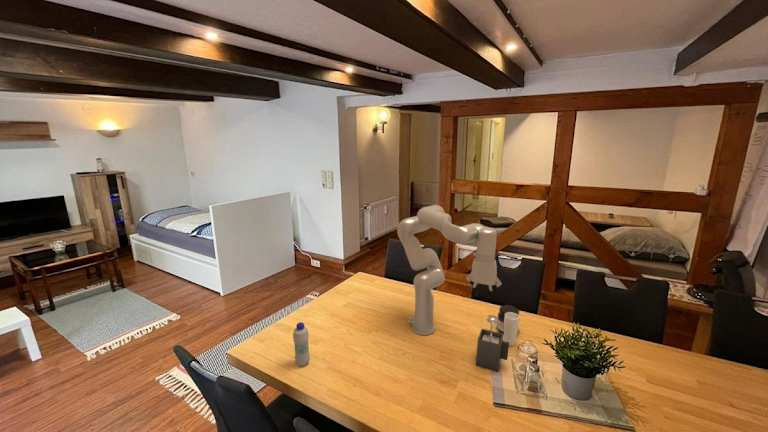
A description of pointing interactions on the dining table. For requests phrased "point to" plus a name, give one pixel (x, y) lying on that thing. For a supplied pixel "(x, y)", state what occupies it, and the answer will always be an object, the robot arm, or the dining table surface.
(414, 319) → the robot arm
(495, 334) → the block
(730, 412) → the dining table surface
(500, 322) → the supplement container
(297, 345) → the bottle
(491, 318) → the plunger
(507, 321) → the drinking glass
